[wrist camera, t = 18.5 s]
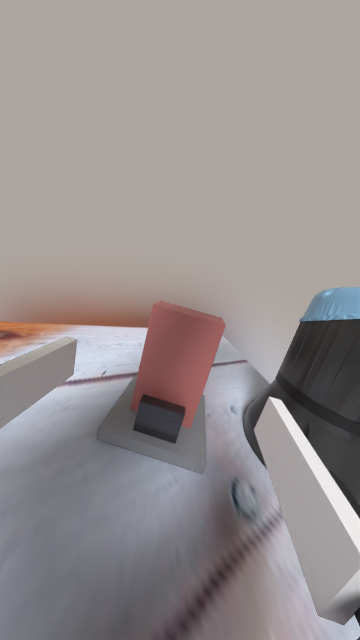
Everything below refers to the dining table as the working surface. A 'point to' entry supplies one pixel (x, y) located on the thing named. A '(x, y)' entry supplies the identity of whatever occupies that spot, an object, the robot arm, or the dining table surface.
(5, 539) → the dining table surface
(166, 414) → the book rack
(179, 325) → the red rectangular block
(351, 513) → the robot arm
